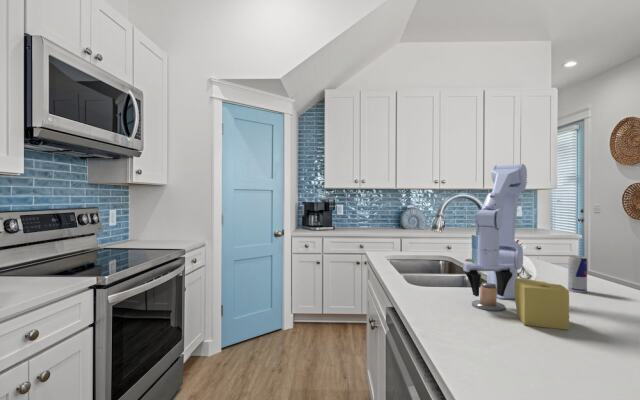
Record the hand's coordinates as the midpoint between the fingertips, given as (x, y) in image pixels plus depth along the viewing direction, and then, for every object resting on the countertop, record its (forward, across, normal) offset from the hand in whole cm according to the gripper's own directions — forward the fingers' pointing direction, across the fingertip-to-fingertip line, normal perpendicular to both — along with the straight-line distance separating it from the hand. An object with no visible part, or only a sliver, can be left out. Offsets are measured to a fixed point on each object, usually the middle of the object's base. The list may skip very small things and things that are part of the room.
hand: (488, 295), depth 105 cm
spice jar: (+3, 0, 0) cm, 3 cm away
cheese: (+3, +6, -14) cm, 15 cm away
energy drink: (+3, +42, +16) cm, 45 cm away
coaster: (+3, 0, 0) cm, 3 cm away
